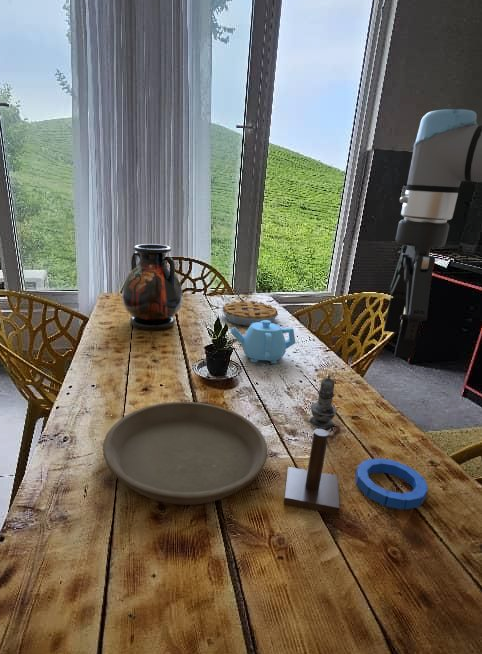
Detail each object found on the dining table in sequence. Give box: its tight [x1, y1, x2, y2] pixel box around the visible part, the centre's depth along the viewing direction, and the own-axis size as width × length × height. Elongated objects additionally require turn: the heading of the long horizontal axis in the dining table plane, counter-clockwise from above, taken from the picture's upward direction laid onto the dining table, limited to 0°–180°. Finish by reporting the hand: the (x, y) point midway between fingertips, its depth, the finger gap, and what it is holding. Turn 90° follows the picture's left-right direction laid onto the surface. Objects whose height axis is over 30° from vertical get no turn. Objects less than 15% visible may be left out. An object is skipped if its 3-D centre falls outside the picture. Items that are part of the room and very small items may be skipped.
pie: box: [221, 300, 279, 327], centre depth 173 cm, size 22×22×5 cm
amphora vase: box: [121, 243, 183, 331], centre depth 157 cm, size 22×22×28 cm
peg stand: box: [283, 428, 341, 516], centre depth 76 cm, size 9×9×12 cm
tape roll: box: [354, 457, 429, 511], centre depth 81 cm, size 12×12×2 cm
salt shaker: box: [309, 374, 338, 430], centre depth 99 cm, size 6×6×12 cm
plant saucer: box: [102, 401, 268, 506], centre depth 85 cm, size 31×31×5 cm
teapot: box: [229, 320, 296, 364], centre depth 135 cm, size 20×17×12 cm
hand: (396, 343), depth 79 cm, fingers open, 13 cm apart
